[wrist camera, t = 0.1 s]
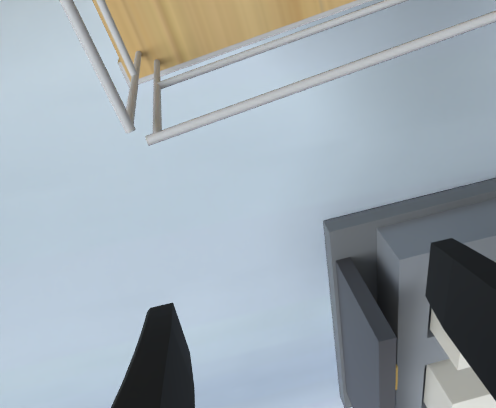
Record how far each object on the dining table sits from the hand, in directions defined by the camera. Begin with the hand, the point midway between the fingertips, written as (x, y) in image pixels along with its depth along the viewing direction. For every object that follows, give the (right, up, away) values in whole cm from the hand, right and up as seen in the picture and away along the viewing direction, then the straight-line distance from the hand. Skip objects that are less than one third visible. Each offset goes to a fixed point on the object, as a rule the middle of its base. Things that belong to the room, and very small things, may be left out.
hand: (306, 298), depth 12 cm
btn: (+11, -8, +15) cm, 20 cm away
